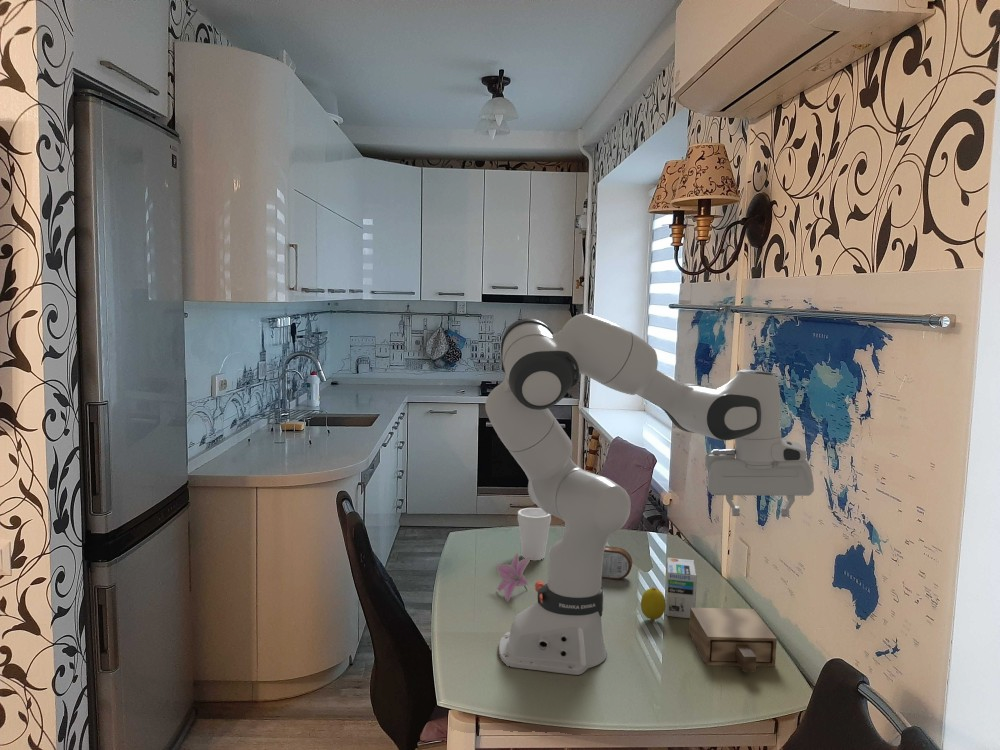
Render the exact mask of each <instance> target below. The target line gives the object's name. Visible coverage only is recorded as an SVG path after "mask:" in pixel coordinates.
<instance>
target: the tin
mask: <svg viewBox="0 0 1000 750" xmlns="http://www.w3.org/2000/svg"><path fill="white" fill-rule="evenodd" d="M632 567H633V558H632V557H631V555H630V553H629V552H628V551H627V550H626V549H624V548H623V547H617V546H610V545H609V546H608V545H606V547H605V550H604V554H603V563H602V578H601V579H607V580H614V581H615V580H616V581H618V580H619V581H620V580H623V579H625V578H626V577H628V576H629V574H630V573H631V570H632Z"/></svg>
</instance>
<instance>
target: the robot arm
mask: <svg viewBox="0 0 1000 750" xmlns="http://www.w3.org/2000/svg"><path fill="white" fill-rule="evenodd" d="M500 354H501V355H500V356H501V357H500V359H501V370H502V372H503V373H504V374H505V376H504V379H503V381H502V382H501V383H499V384H498V385H497V386H495V387H494V388H493V389H492V390H491V391H490V392H489V394H488V396H487V398H486V400H485V406H484V407H485V412H486V415H487V417H488V420H489V422H490V424H491V425H492V427H493V429H494V431H495V433H496V434H497V437H498V438H499V439H500V442H502V443H503V445H504V446H505V448H506V449H507V450H508V452H509V453H510V455H511V456H512V457H513V458H514V460H515V461H516V463H517V464H518V465H519V466H520V467H521V469H522V470H523V472H524V473H525V475H526V477H527V480H528V484H527V492H528V496H529V498H530V500H531V501H532V502H533V503H534V504H535V505H536V506H537V507H538V508H541V509H542V510H544V511H545V512H546V513H548V514H551V516H553V517H555V518H558V519H560V520H563V521H564V531H563V535H562V538H561V539H559V540H557V541H556V542H554V544H552V545H551V547H550V548H549V551H548V566H547V568H548V569H547V583H544V581H542V580H536V582H535V584H534V587H535V588H534V589H535V591H536V592H537V601H535V602H534V603H532V604H531V605H529V606H528V607H526V608H524V609H523V610H521V611H520V612H518V613H517V614H516V615H515V617H514V618H513V621H512V623H511V628H510V631H507V632H505V633H504V634H503V635H502V636H501V637H500V640H499V644H498V655H499V654H500V656H499V658H500V657H501V659H502V660H501V659H500V660H501V662H502V661H503V662H504V663H505V664H506V665H505V664H504V663H503V662H502V663H503V664H504V665H505V666H506V667H509V666H510V668H516V669H526V670H534V671H540V672H541V671H542V672H551V673H557V674H565V675H575V676H577V675H581V674H583V673H585V672H586V671H587V670H588V669H590V668H593V667H596V666H598V665H600V664H601V663H603V662H604V661H605V660H606V658H607V655H608V653H607V649H606V645H605V642H604V636H603V628H602V616H603V611H604V591H603V587H602V579H603V578H602V563H603V554H604V550H605V547H606V546H607V545H608V542H609V540H610V539H611V537H612V535H614V534H615V533H616V532H618V531H620V530H621V529H622V528H623V527H624V525H625V524H626V523H627V522H628V520H629V517H630V513H631V506H632V505H631V503H632V502H631V497H630V495H629V493H628V492H627V491H626V489H625V488H624V487H622V486H621V485H620V484H618V483H616V482H615V481H613V480H611V478H608V477H605V476H602V475H600V474H596V473H594V472H590V471H587V470H585V469H583V468H582V467H580V466H579V465H577V464H576V462H574V461H573V460H572V454H573V449H574V447H573V443H572V440H571V439H570V437H569V436H568V434H567V433H566V431H565V430H564V429H563V427H562V426H561V424H560V423H559V421H558V420H557V418H556V417H555V416H554V414H553V412H552V411H551V410H550V408H553V406H555V405H556V404H558V403H559V402H561V400H562V399H564V397H566V395H567V393H568V391H570V389H572V388H573V387H574V386H575V385H577V384H578V382H579V379H580V375H583V376H586V377H588V378H590V379H592V380H594V381H596V382H597V383H599V384H601V385H603V386H605V387H607V388H609V389H612V390H614V391H617V392H619V393H623V394H626V395H629V396H631V395H632V396H635V395H637V396H638V397H641V398H643V399H644V400H646V401H648V402H649V403H652V404H654V405H655V406H657V407H658V408H660V409H661V410H662V411H664V413H665V414H666V415H667V416H668V418H669V419H670V421H671V422H672V423H673V425H674V426H675V427H676V428H678V429H679V430H680V431H681V430H682V431H683V432H688V433H693V434H698V435H701V436H704V437H708V438H712V439H715V440H719V441H733V440H734V441H735V443H734V447H735V449H734V448H731V449H712V451H709V452H708V453H706V455H705V457H704V464H705V468H706V470H707V471H708V474H707V491H708V493H710V494H711V496H725V500H726V502H727V503H728V505H729V506H730V509H731V516H732V517H741V516H740V515H741V509H740V505H735V504H734V496H770V497H771V496H780V497H781V496H784V497H785V498H786V503H785V504H784V505H780V508H779V509H780V517H782V518H784V517H790V509H791V507H792V506H793V504H794V503H795V501H796V497H797V496H800V497H801V496H803V497H804V496H807V497H809V496H811V495H812V494H813V492H814V491H815V486H814V477H813V472H812V468H811V466H810V464H809V462H808V461H807V451H806V448H805V447H804V446H803V445H802V444H800V443H799V442H793V441H790V440H786V439H783V438H782V430H781V428H780V418H781V413H782V401H781V394H780V393H781V392H780V386H779V381H778V379H777V377H776V375H775V374H773V373H771V372H769V371H764V370H763V371H761V370H757V369H739V370H737V372H736V373H735V375H734V377H732V378H731V379H730V380H729V381H728V382H727V383H725V384H723V385H722V386H720V387H717V388H716V389H715V388H711V387H705V386H703V385H699V384H695V383H680V382H678V381H676V380H674V379H673V378H671V377H670V376H668V375H666V374H665V373H664V372H661V371H659V370H658V365H659V364H658V362H659V361H658V356H657V352H656V350H655V348H653V347H652V346H651V345H650V344H649V343H648V342H646V340H645V339H643V338H641V337H640V336H639V335H637V334H635V333H634V332H632V331H630V330H628V329H626V328H624V327H623V326H620V325H618V324H616V323H615V322H612V321H609V320H607V319H604V318H602V317H599V316H596V315H592V314H590V313H579V314H577V315H574V316H573V317H570V319H568V321H567V322H566V323H565V324H564V325H563V327H562V329H561V330H559V331H558V332H556V333H554V332H553V331H552V330H551V328H550V327H549V326H548V325H547V324H546V323H544V322H542V321H541V320H538V319H535V318H529V317H528V318H520V319H518V320H516V321H514V322H512V323H511V324H510V325H509V326H508V327H507V328H506V330H505V331H504V334H503V336H502V339H501V345H500ZM795 496H796V497H795ZM505 638H507V639H505Z"/></svg>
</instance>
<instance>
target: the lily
mask: <svg viewBox="0 0 1000 750" xmlns="http://www.w3.org/2000/svg"><path fill="white" fill-rule="evenodd" d="M530 560H531V557H528V558H525V559H524V558H522V559H520V558H519V553H518V552H516V553H515V555H514V557H513V558H512V561H511V564H507V563H505V564H504V563H503V564H498V565H497V566H496V571H497V573H498V575H499V578H501V582H500V583H499V584H498V586H497V587H496V590H497V589H498V590H499V592H501V591H503V592H504V593H503V594H504V599H505V600H506V599H507V600H509V601H510V599H511V597H512V595H513V592H514V590H515V588H516V587H524V589H525V590H527V591H528V589H527V586H528V585H529V584H528V581H527V579H526V577H525V575H524V574H523V573H524V571H525V570H526V568H527V566H528V565H529V563H530Z"/></svg>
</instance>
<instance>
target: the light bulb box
mask: <svg viewBox="0 0 1000 750" xmlns="http://www.w3.org/2000/svg"><path fill="white" fill-rule="evenodd" d="M697 578H698V574H697V570H696V566H695V560H694V559H684V558H674V557H667V558H666V580H665V581H666V582H665V583H666V584H665V586H666V587H665V588H666V589H665V611H666V616H667V617H675V618H681V619H682V618H684V619H690V608H696V607H697V606H696V601H697V580H698V579H697Z"/></svg>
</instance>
